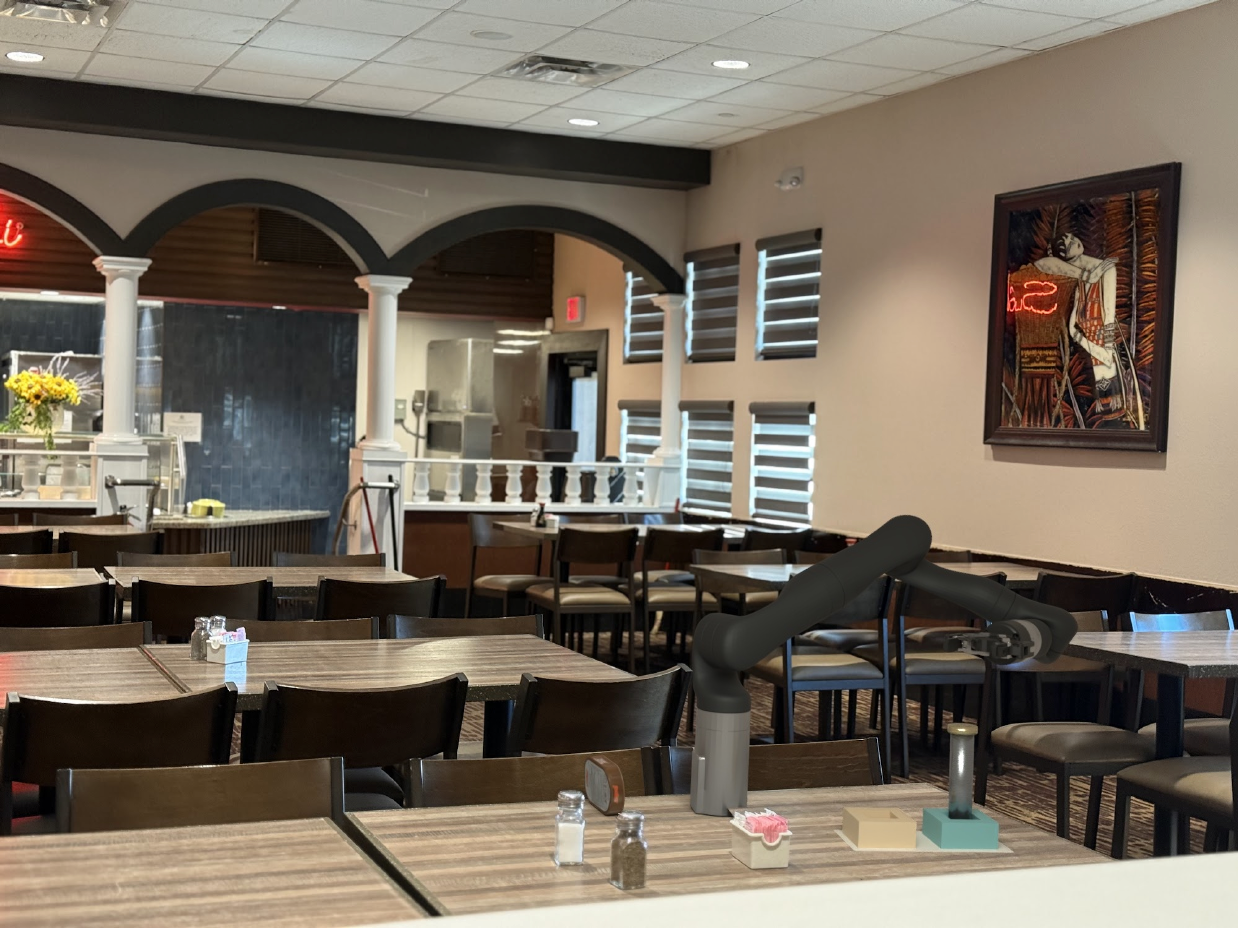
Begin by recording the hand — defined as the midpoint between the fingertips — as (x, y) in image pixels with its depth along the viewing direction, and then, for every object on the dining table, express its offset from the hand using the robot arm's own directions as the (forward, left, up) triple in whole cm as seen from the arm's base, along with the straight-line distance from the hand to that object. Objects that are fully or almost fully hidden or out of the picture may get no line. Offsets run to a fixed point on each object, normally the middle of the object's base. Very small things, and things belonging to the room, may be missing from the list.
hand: (969, 648), depth 239 cm
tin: (-59, +11, -30) cm, 67 cm away
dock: (-11, -13, -30) cm, 34 cm away
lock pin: (-5, -13, -28) cm, 32 cm away
